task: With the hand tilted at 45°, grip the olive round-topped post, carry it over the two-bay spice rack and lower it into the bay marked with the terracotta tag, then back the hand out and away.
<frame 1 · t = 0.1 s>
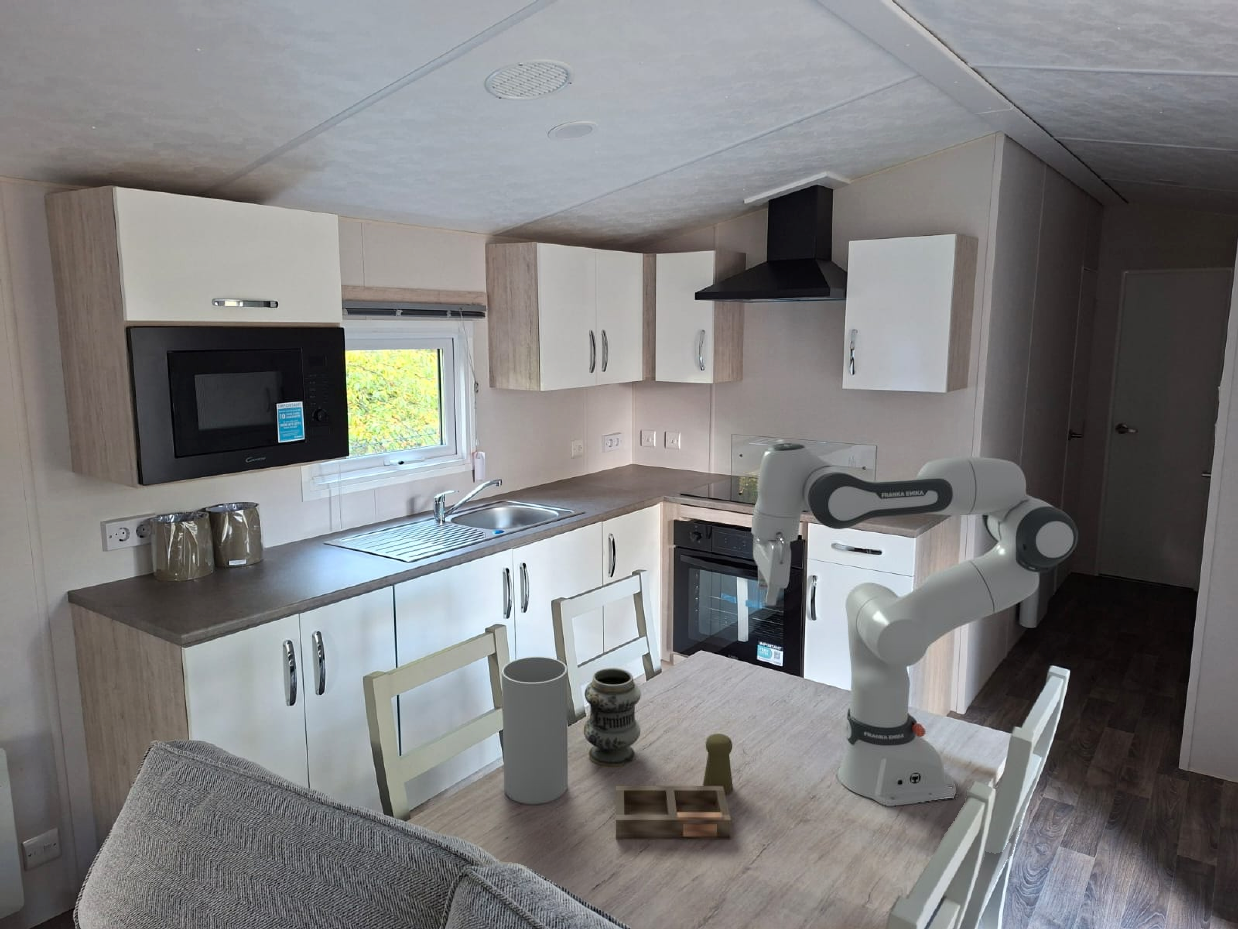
hand: (766, 596, 165), 39 cm above the table, tool pointing down, fingers open, 8 cm apart
apothecary jar: (612, 755, 181), on the table
cylinder vase: (536, 789, 168), on the table
spice rack: (671, 821, 158), on the table
olive round-topped post: (717, 789, 169), on the table
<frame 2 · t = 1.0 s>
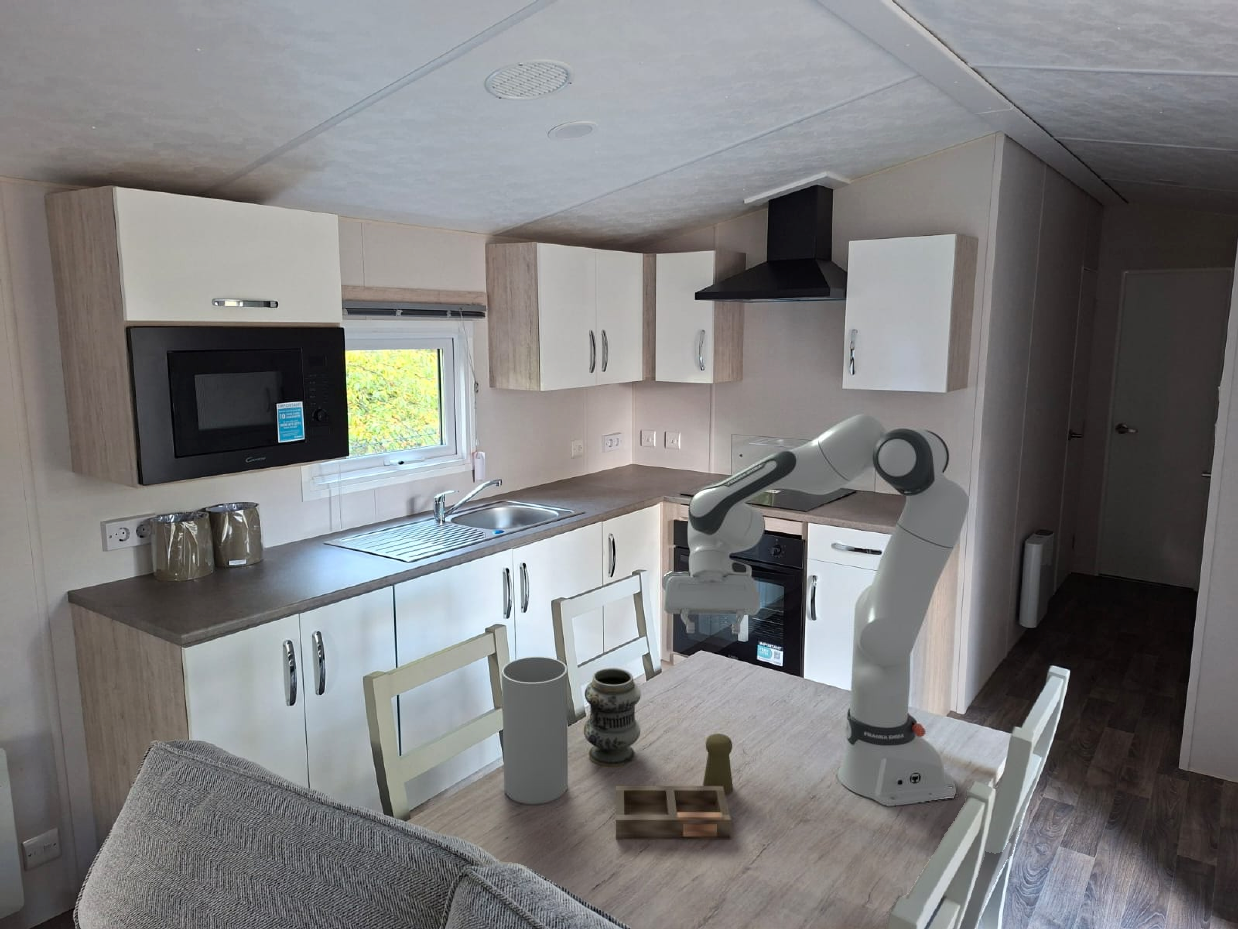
hand: (713, 632, 176), 28 cm above the table, tool tilted 45°, fingers open, 8 cm apart
nothing on the table moved.
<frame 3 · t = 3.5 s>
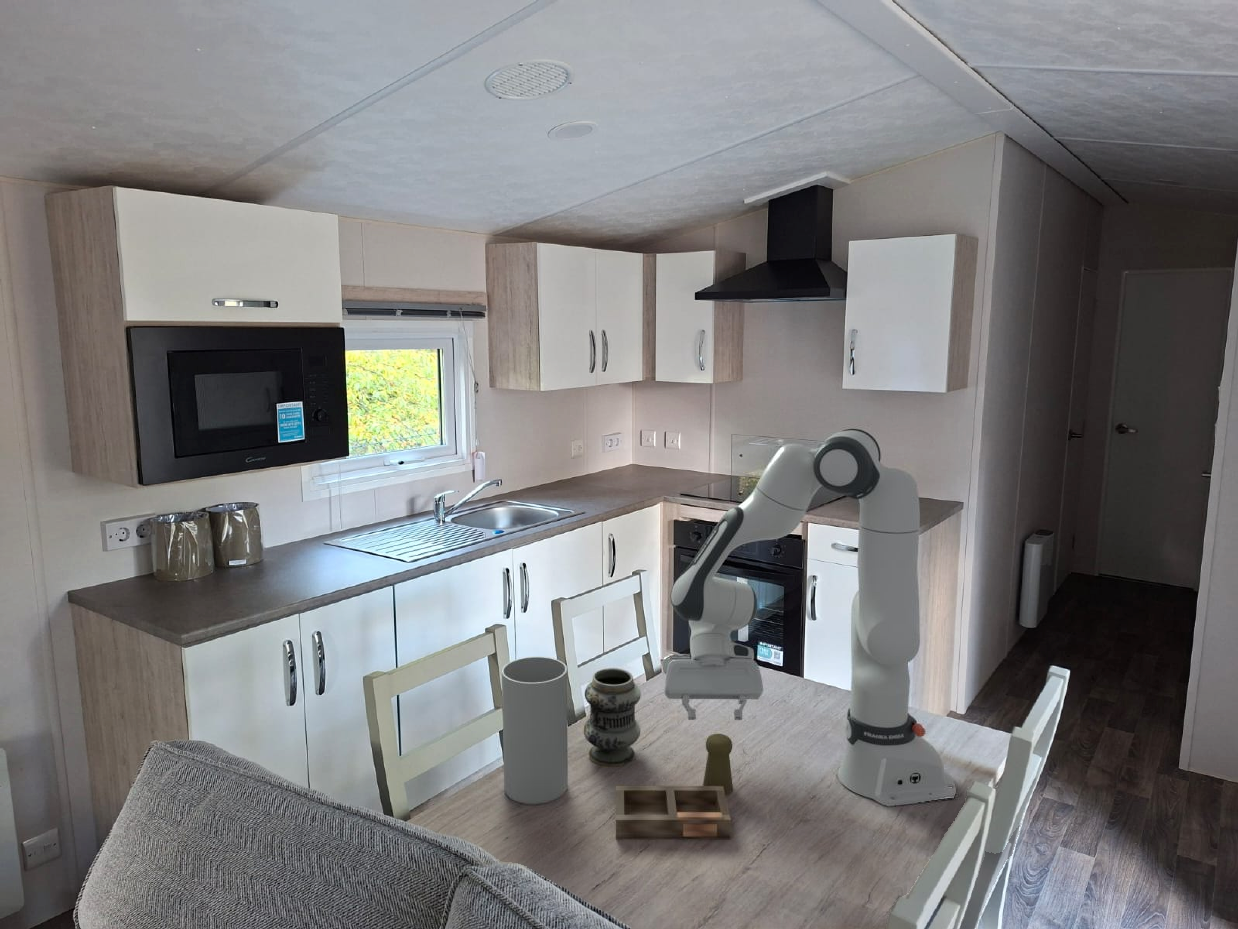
hand: (715, 719, 172), 12 cm above the table, tool tilted 45°, fingers open, 8 cm apart
nothing on the table moved.
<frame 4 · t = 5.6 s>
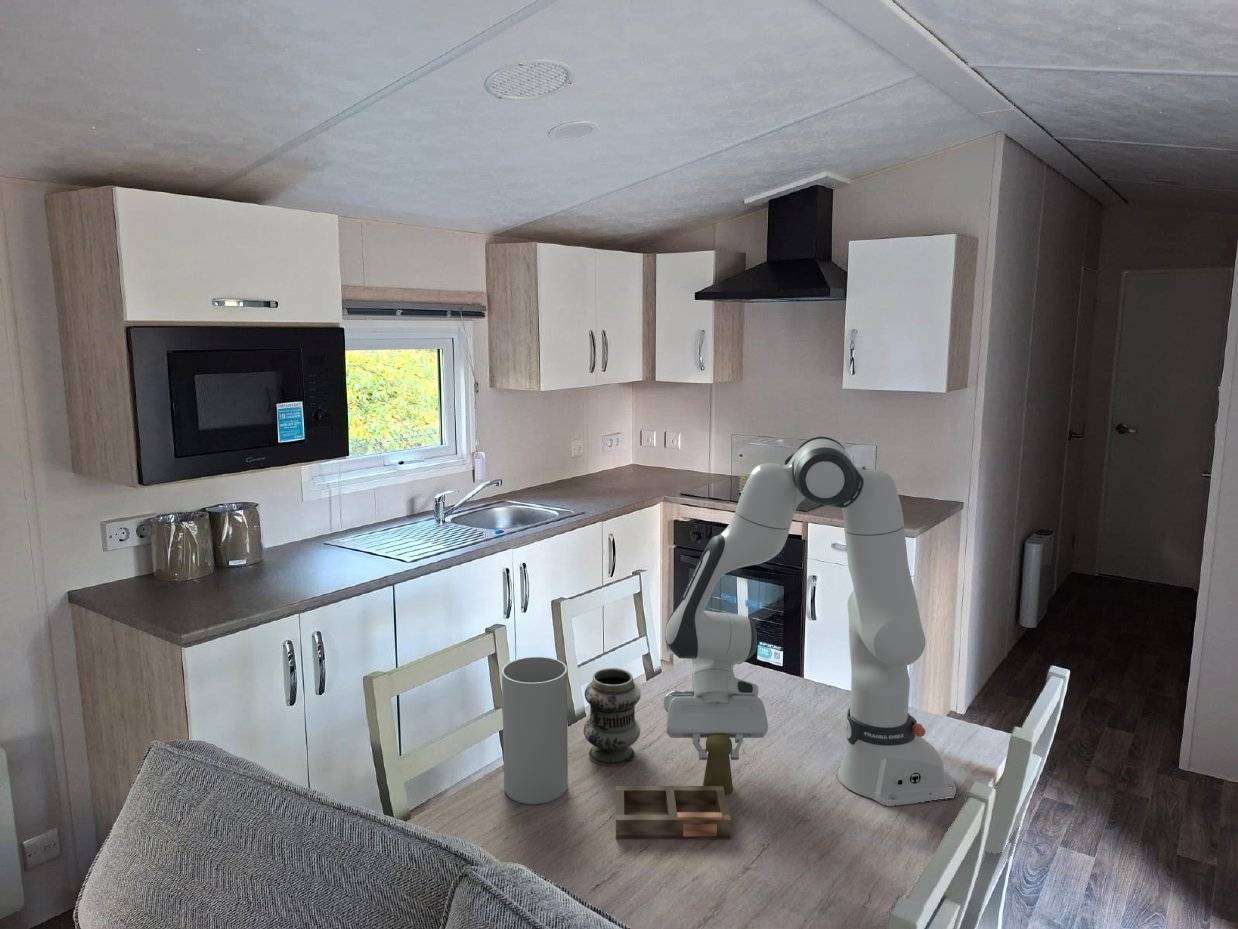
hand: (719, 759, 167), 7 cm above the table, tool tilted 45°, fingers closed on olive round-topped post, 5 cm apart
olive round-topped post: (717, 789, 169), on the table, touching gripper
everything else where it was.
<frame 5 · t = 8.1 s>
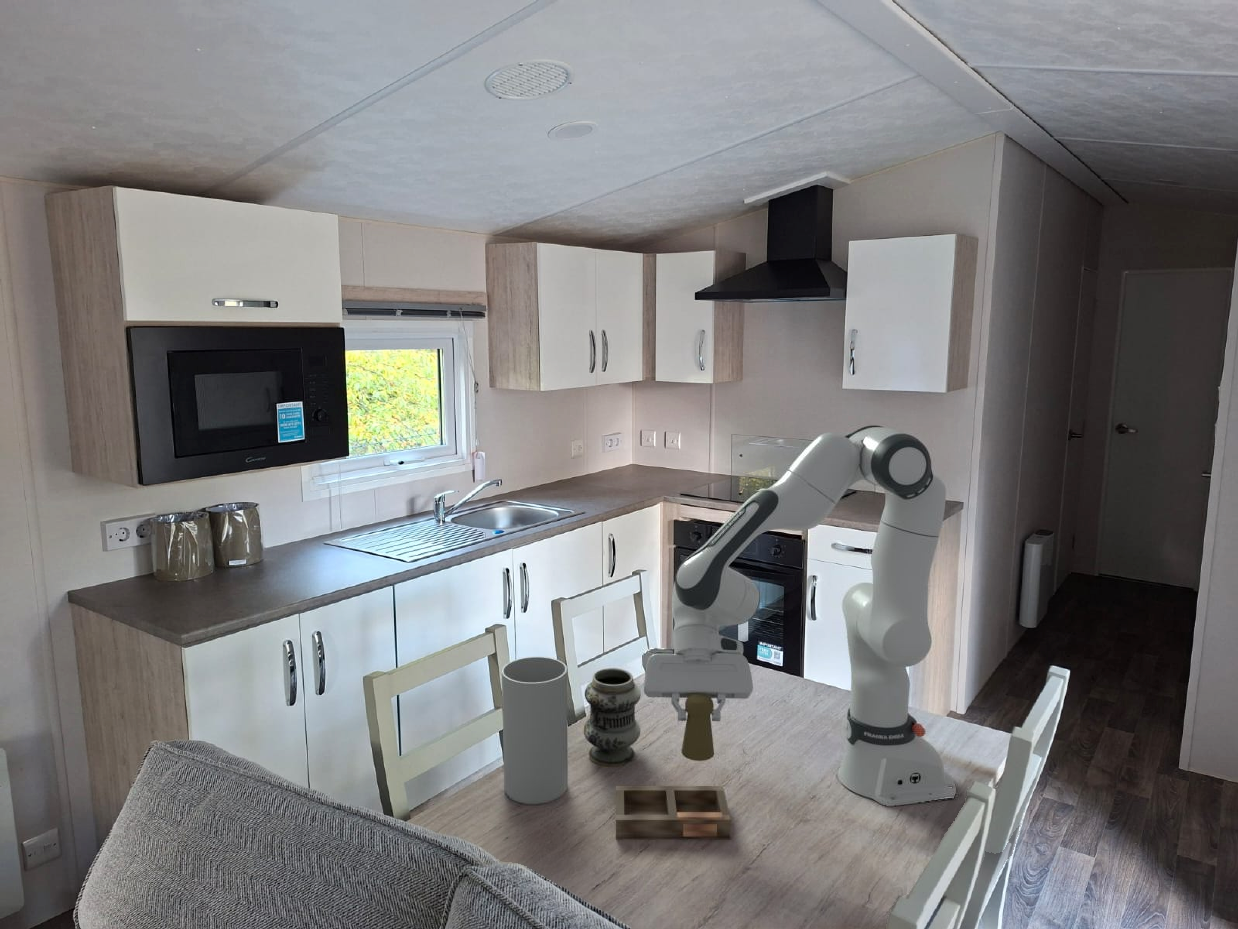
hand: (699, 720, 155), 20 cm above the table, tool tilted 45°, fingers closed on olive round-topped post, 5 cm apart
olive round-topped post: (697, 753, 157), point 13 cm above the table, touching gripper
everything else where it was.
when the fingers open (9 cm above the table, at t = 10.5 s): olive round-topped post stays where it is, resting on spice rack.
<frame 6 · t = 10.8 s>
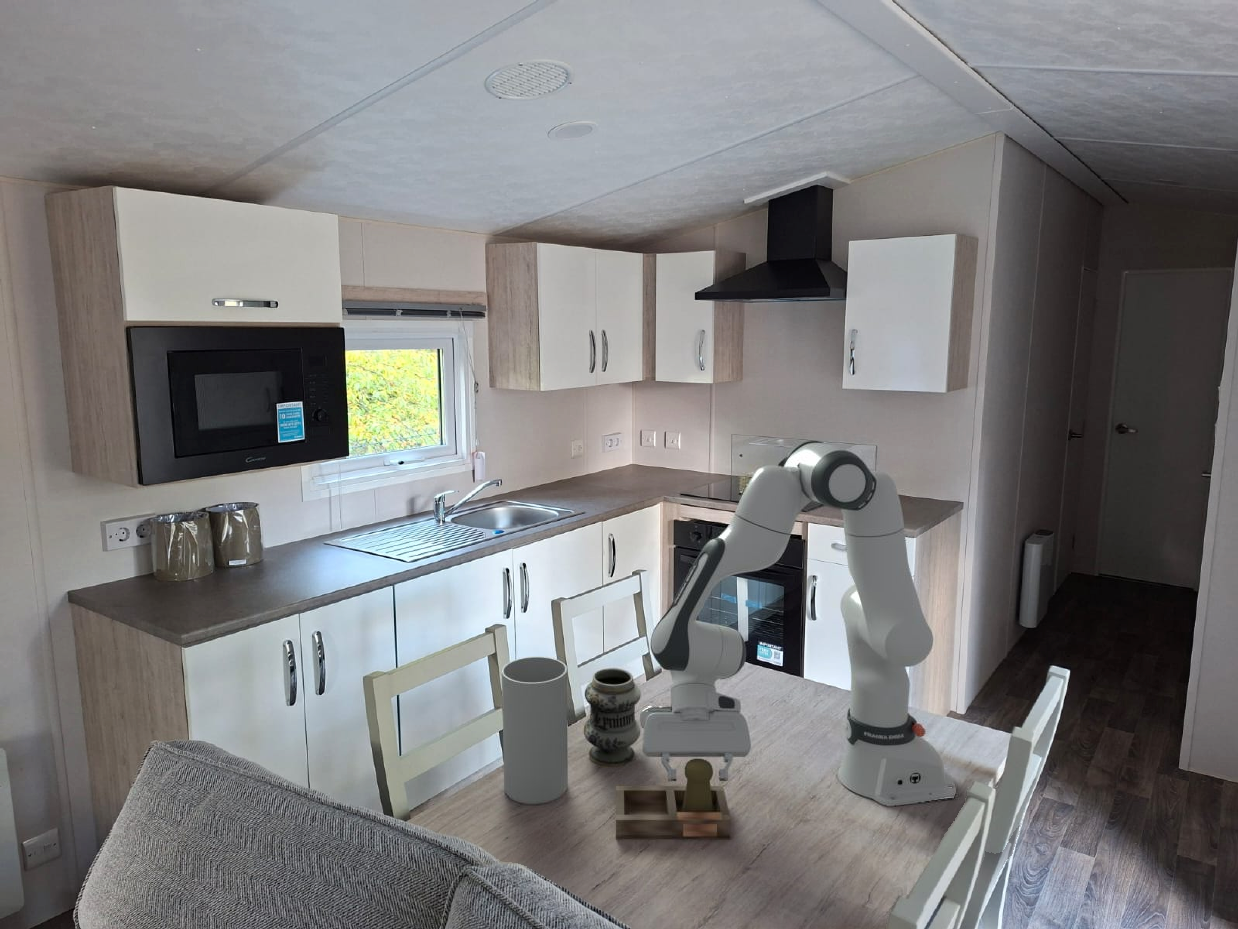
hand: (698, 780, 156), 9 cm above the table, tool tilted 45°, fingers open, 8 cm apart
olive round-topped post: (697, 818, 158), point 1 cm above the table, touching spice rack
everything else where it was.
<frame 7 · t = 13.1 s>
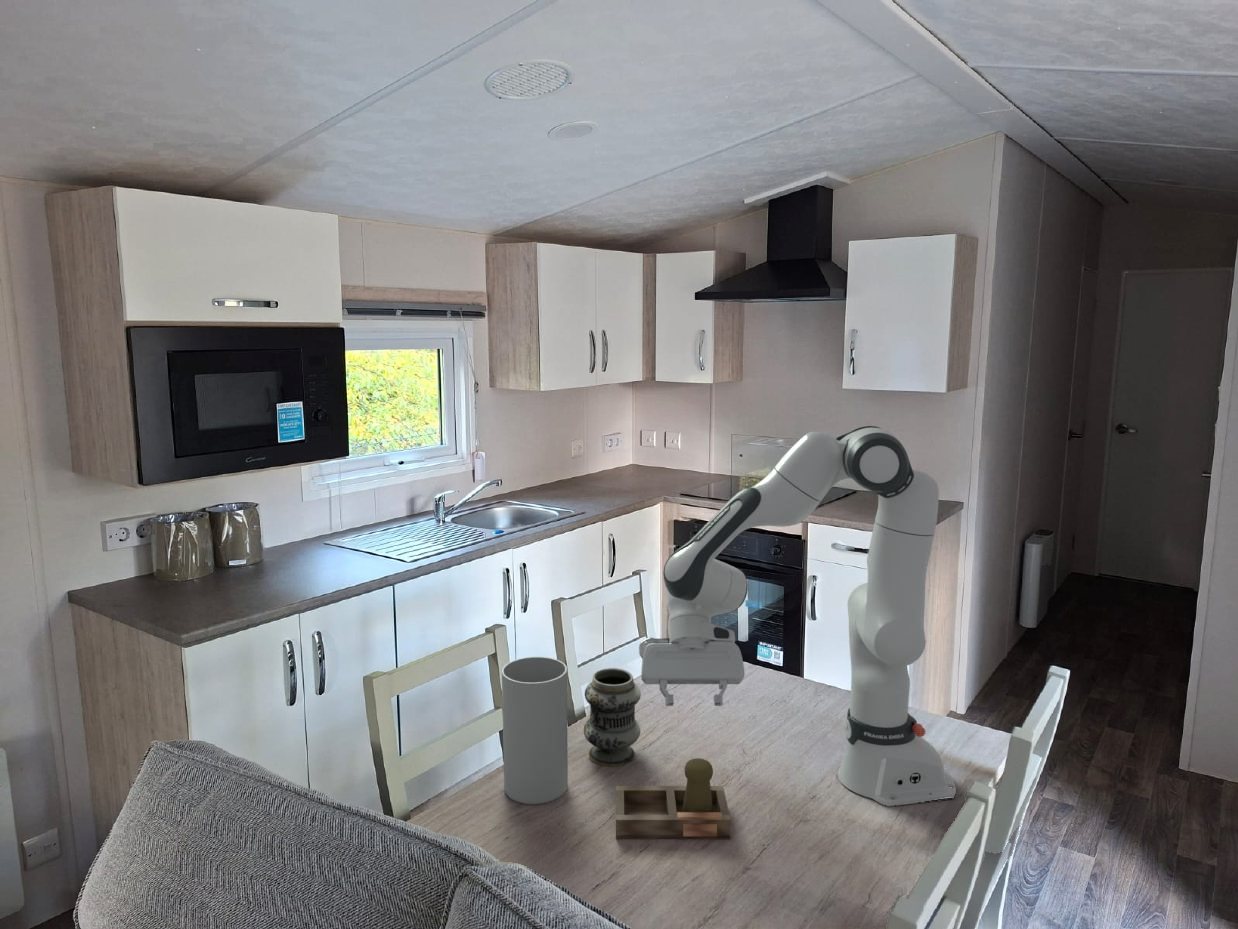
hand: (694, 705, 164), 18 cm above the table, tool tilted 45°, fingers open, 8 cm apart
nothing on the table moved.
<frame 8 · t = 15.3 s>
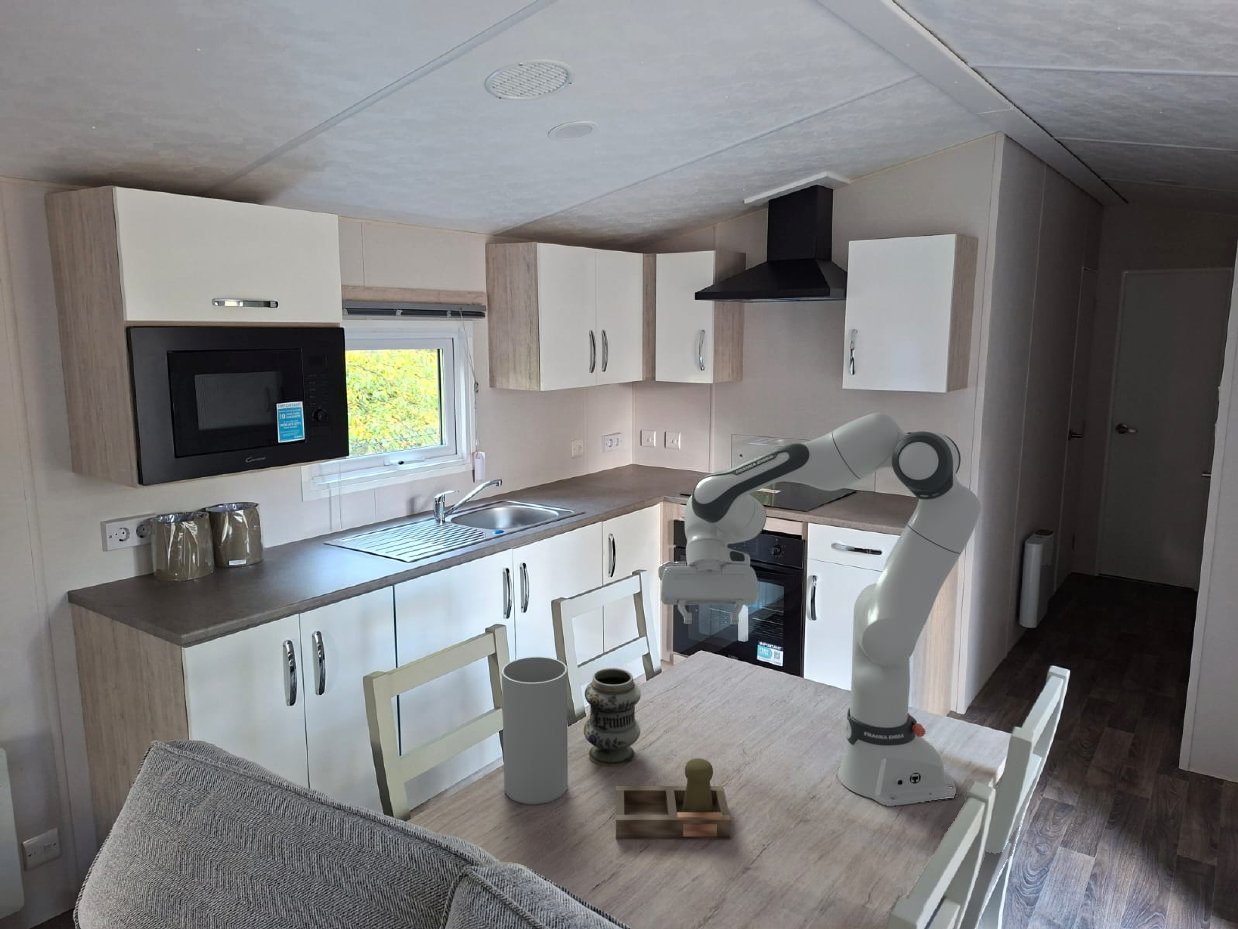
hand: (711, 622, 171), 31 cm above the table, tool tilted 45°, fingers open, 8 cm apart
nothing on the table moved.
at the end: olive round-topped post 0.2 cm from the target spot on the spice rack, point 0.6 cm above the spice rack's base; olive round-topped post tilted 0°; the gripper is holding nothing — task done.
